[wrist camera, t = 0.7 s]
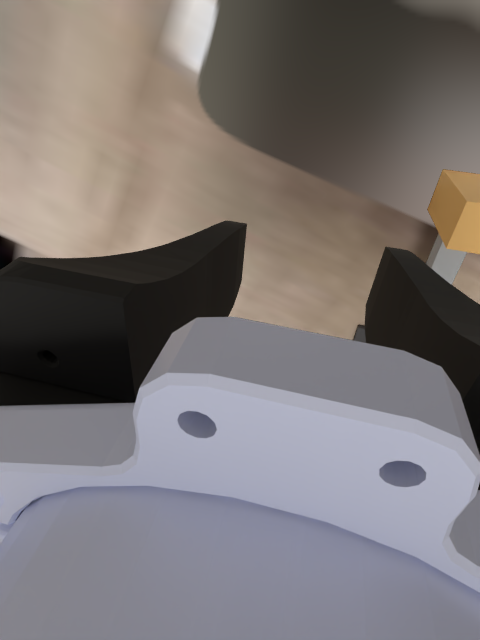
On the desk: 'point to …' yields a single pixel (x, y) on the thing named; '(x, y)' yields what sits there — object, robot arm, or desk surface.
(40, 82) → the desk surface
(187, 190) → the desk surface
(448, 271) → the tray
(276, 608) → the robot arm
